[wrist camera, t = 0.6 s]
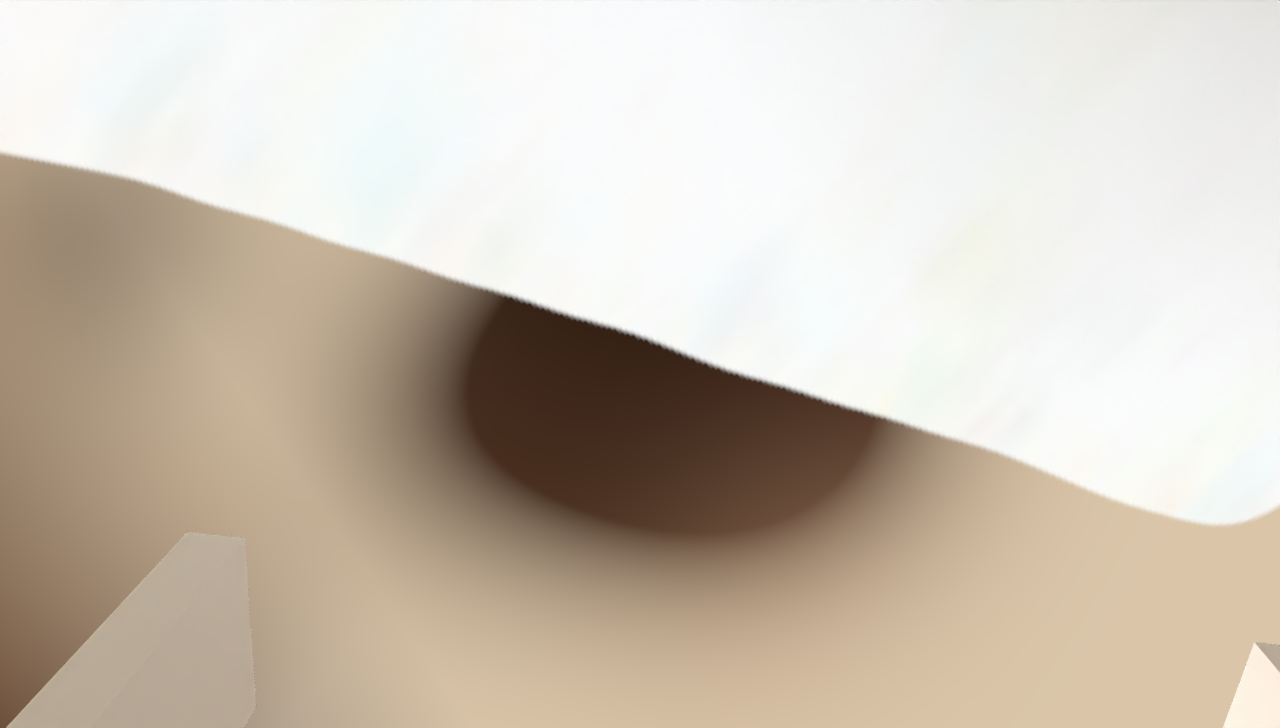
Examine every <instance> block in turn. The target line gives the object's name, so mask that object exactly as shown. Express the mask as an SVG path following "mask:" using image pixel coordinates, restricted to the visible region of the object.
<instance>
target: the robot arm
mask: <svg viewBox="0 0 1280 728" xmlns="http://www.w3.org/2000/svg"><path fill="white" fill-rule="evenodd" d="M254 680H255V679H254V665H253V651H252V635H251V621H250V606H249V592H248V577H247V562H246V547H245V538H243V537H233V536H223V535H214V534H203V533H194V532H187V533H186V534H185V535H184V536H183V537H182V538H181V539H180V540H179V541H178V543H177V544H176V545H175V546H174V547H173V548H172V549H171V550H170V551H169V552H168V553H167V554H166V555H165V557H164V558H163V559H162V560H161V561H160V562H159V563H158V564H157V565H156V566H155V567H154V568H153V570H152V571H151V572H150V573H149V574H148V575H147V576H146V577H145V578H144V579H143V580H142V582H140V584H139V585H138V586H137V587H136V588H135V589H134V590H133V591H132V592H131V593H130V594H129V595H128V596H127V598H126V599H125V600H124V601H123V602H122V603H121V604H120V605H119V606H118V607H117V608H116V609H115V611H114V612H113V613H112V614H111V615H110V616H109V617H108V618H107V619H106V620H105V621H104V622H103V624H102V625H101V626H100V627H99V628H98V629H97V630H96V631H95V632H94V633H93V634H92V635H91V636H90V638H89V639H88V640H87V641H86V642H85V643H84V644H83V645H82V646H81V647H80V648H79V650H78V651H77V652H76V653H75V654H74V655H73V656H72V657H71V658H70V659H69V660H68V661H67V662H66V663H65V665H64V666H63V667H62V668H61V669H60V670H59V671H58V672H57V673H56V674H55V675H54V677H53V678H52V679H51V680H50V681H49V682H48V683H47V684H46V685H45V686H44V687H43V688H42V689H41V691H40V692H39V693H38V694H37V695H36V696H35V697H34V698H33V699H32V700H31V701H30V702H29V703H28V705H27V706H26V707H25V708H24V709H23V710H22V711H21V712H20V713H19V714H18V715H17V716H16V717H15V719H14V720H13V721H12V722H11V723H10V724H9V725H8V726H7V727H6V728H244V726H245V725H246V723H247V721H248V720H249V718H250V717H251V715H252V713H253V712H254V710H255V708H256V694H255V681H254ZM1223 728H1280V645H1277V644H1267V643H1257V642H1255V643H1254V645H1253V648H1252V651H1251V653H1250V656H1249V659H1248V662H1247V664H1246V667H1245V670H1244V672H1243V675H1242V678H1241V680H1240V683H1239V686H1238V689H1237V691H1236V694H1235V697H1234V700H1233V702H1232V705H1231V708H1230V711H1229V713H1228V716H1227V719H1226V721H1225V724H1224V727H1223Z"/></svg>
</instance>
